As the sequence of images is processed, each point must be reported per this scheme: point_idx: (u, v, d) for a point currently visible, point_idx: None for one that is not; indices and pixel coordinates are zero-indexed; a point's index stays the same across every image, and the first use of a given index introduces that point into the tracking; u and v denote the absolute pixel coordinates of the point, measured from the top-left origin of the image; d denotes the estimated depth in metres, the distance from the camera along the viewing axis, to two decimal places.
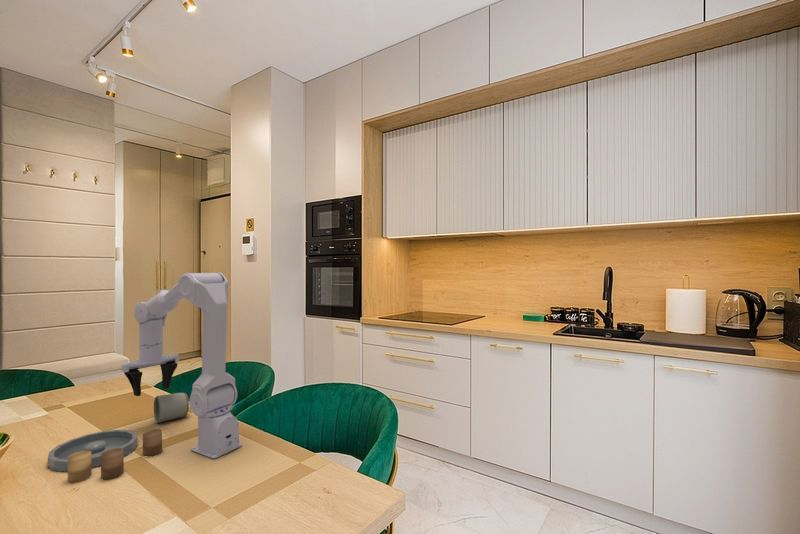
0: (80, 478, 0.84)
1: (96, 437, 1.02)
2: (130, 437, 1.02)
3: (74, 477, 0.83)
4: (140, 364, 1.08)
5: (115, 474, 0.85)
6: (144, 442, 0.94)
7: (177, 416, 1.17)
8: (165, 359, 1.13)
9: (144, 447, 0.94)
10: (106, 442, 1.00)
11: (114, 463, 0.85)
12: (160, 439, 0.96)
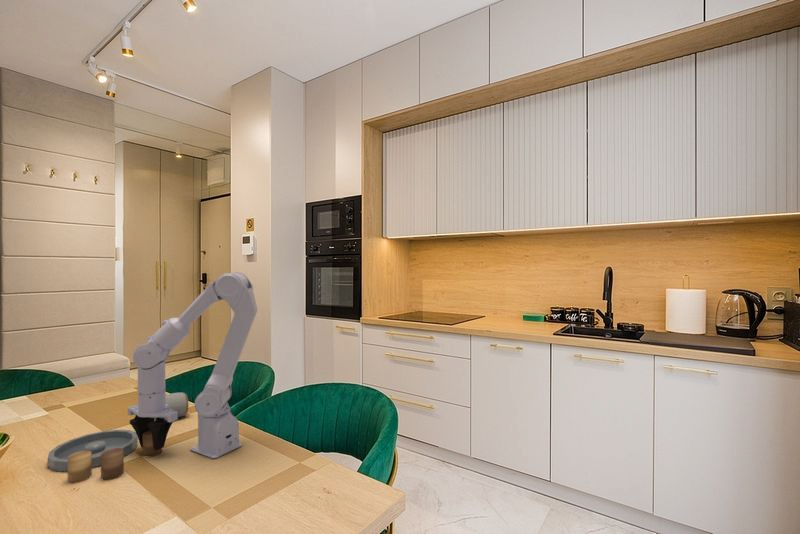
0: (80, 478, 0.84)
1: (96, 437, 1.02)
2: (130, 437, 1.02)
3: (74, 477, 0.83)
4: (133, 411, 0.96)
5: (115, 474, 0.85)
6: (144, 442, 0.94)
7: None
8: (151, 415, 0.93)
9: (144, 447, 0.94)
10: (106, 442, 1.00)
11: (114, 463, 0.85)
12: None
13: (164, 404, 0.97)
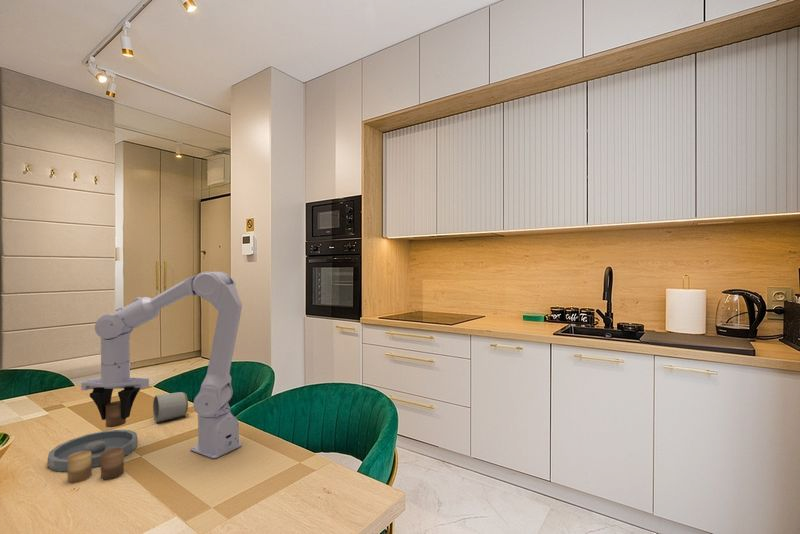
0: (80, 478, 0.84)
1: (96, 437, 1.02)
2: (130, 437, 1.02)
3: (74, 477, 0.83)
4: (93, 384, 0.94)
5: (115, 474, 0.85)
6: (110, 413, 0.94)
7: (176, 415, 1.17)
8: (121, 384, 0.94)
9: (110, 418, 0.94)
10: (106, 442, 1.00)
11: (114, 463, 0.85)
12: None
13: (129, 374, 0.98)
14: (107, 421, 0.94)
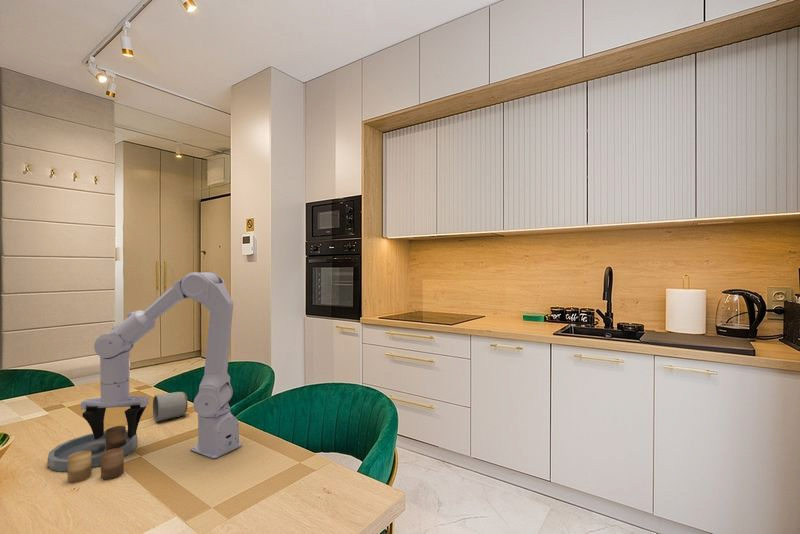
0: (80, 478, 0.84)
1: None
2: None
3: (74, 477, 0.83)
4: (93, 404, 0.94)
5: (115, 474, 0.85)
6: (110, 439, 0.94)
7: (176, 415, 1.17)
8: (121, 403, 0.94)
9: (110, 444, 0.94)
10: None
11: (114, 463, 0.85)
12: (125, 434, 0.97)
13: None
14: (107, 447, 0.95)
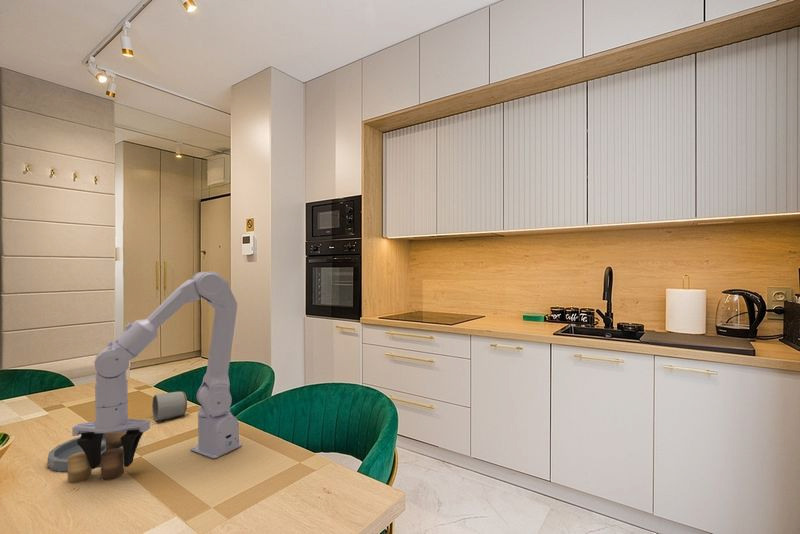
0: (80, 479, 0.84)
1: None
2: None
3: (74, 478, 0.83)
4: (87, 429, 0.84)
5: (115, 474, 0.85)
6: (110, 439, 0.94)
7: (175, 414, 1.18)
8: (119, 428, 0.84)
9: (110, 444, 0.94)
10: None
11: (114, 463, 0.85)
12: None
13: (127, 415, 0.88)
14: (107, 447, 0.95)
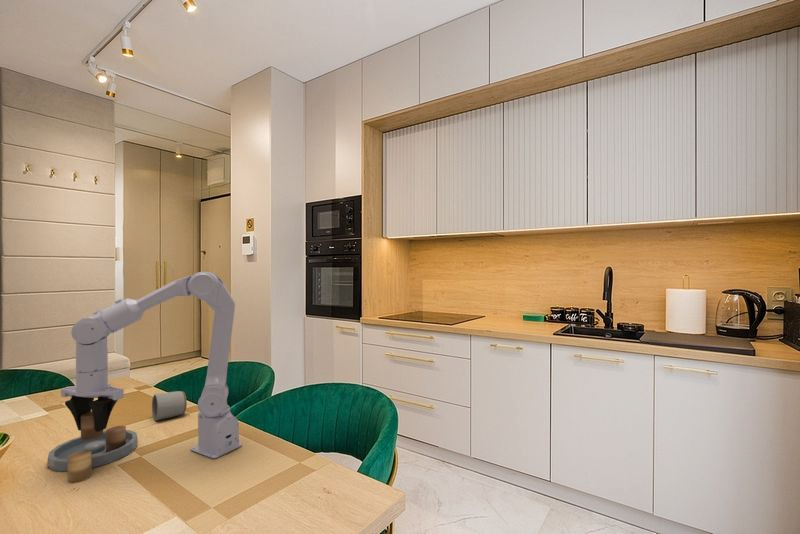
0: (80, 478, 0.84)
1: None
2: (130, 437, 1.02)
3: (74, 477, 0.83)
4: (69, 392, 0.88)
5: (91, 435, 0.88)
6: (110, 439, 0.94)
7: (175, 414, 1.18)
8: (93, 394, 0.87)
9: (110, 444, 0.94)
10: None
11: (90, 424, 0.88)
12: (125, 434, 0.97)
13: (106, 383, 0.91)
14: (107, 447, 0.95)
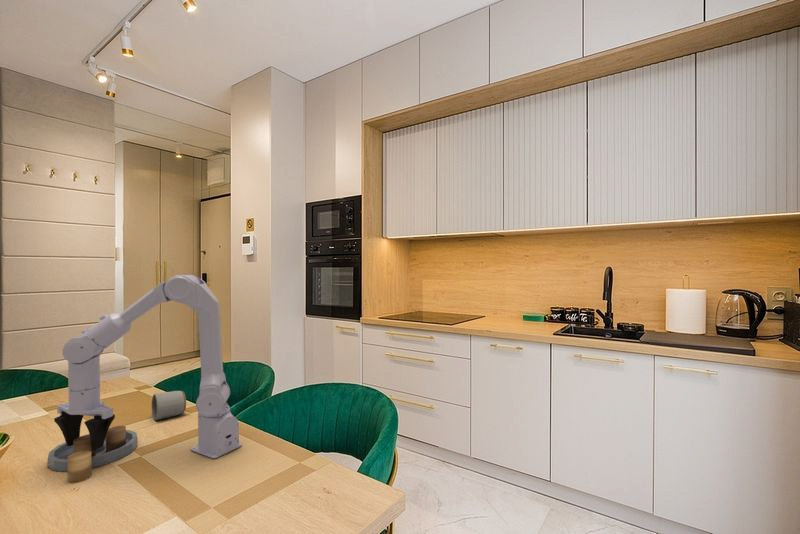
0: (80, 478, 0.84)
1: None
2: (130, 437, 1.02)
3: (74, 477, 0.83)
4: (63, 409, 0.91)
5: None
6: (110, 439, 0.94)
7: (174, 414, 1.19)
8: (83, 412, 0.89)
9: (110, 444, 0.94)
10: None
11: (81, 449, 0.90)
12: (125, 434, 0.97)
13: (98, 401, 0.92)
14: (107, 447, 0.95)
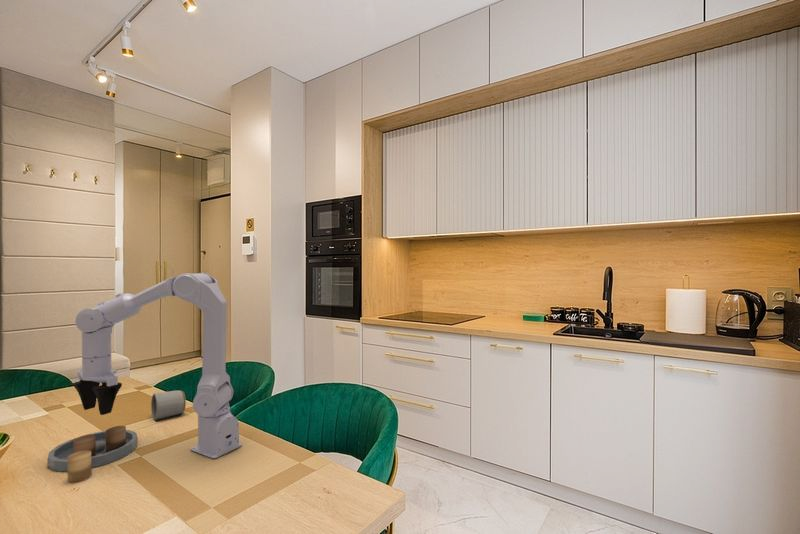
0: (80, 478, 0.84)
1: (96, 437, 1.02)
2: (130, 437, 1.02)
3: (74, 477, 0.83)
4: (80, 375, 0.97)
5: None
6: (110, 439, 0.94)
7: (174, 413, 1.19)
8: (92, 378, 0.94)
9: (110, 444, 0.94)
10: None
11: (81, 449, 0.90)
12: (125, 434, 0.97)
13: (108, 369, 0.97)
14: (107, 447, 0.95)
